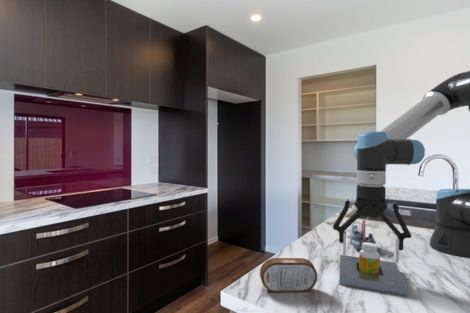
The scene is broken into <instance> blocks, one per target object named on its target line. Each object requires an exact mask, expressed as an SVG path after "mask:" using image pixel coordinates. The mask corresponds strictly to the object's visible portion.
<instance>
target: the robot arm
mask: <svg viewBox="0 0 470 313" xmlns="http://www.w3.org/2000/svg"><path fill="white" fill-rule="evenodd" d="M461 107H468V112H470V70H468V71H467V70H466V71H464V72H461V73H457V74H455V75H453V76H452V75H451V76H450V77H449V78H447V79H445V80H444V81H441V83H438V85H436V86H435V87H433V88H432V89H430V90H429V91H428V92H426V93H425V94H424V95H423V96H422V99H421V101H419V102H418V103H416V104H415V105H414V106H412V107H411V108H410V109H408V110H407V111H405V112H404V113H403V114H402V115H400V116H399V117H398V118H395V120H393V121H392V122H391V123H389V124H388V125H387V126H385V127H384V128H383V129H381V130H380V131H362V132H360V133H359V134H358V137H357V143H356V144H355V145H354V147H353V152H352V153H353V155H354V157H355V158H356V167H357V168H356V183H357V185H356V199H355V200H350V199H349V198H346V199H345V201H344V206H343V208H342V210H341V211H340V213H339V214H338V217H337V218H336V220H335V221H334V223H333V224H332V225H333V226H332V228H333V230H334V231H336V232H338V242H339V244H342V245H343V246H342V255H346V256H347V229H348V228H349V227H350V226H352V225H353V223H354V222H356V221H357V219H359V218H361V216H362V217H364V218H373V219H377V218H381V219H382V220H383V222H384V223H385V224H386V225H387V226H388V227H389V228H390V230H391V231H392V233H394V234H395V235H396V236H394V237H393V261H394V262H395V263H396V264H399V258H400V256H399V255H400V254H399V253H400V251H403V250H404V240H406V239H411V238H412V234H411V232H410V230H409V228H408V226H407V224H406V223H405V221H404V218H403V217H402V215H401V213H400V211H399V210H400V209H399V204H398V203H396V202H395V201H394V202H392V203H390V202H389V203H387V202H386V192H387V188H386V187H385V185H386V180H387V178H386V176H387V175H386V174H387V165H406V166H407V165H408V166H410V165H416V164H419V163H421V162H422V161H423V159H424V158H425V155H426V154H425V152H426V149H425V146H424V144H423V143H422V142H421V141H420V140H417V139H410V137H412V136H413V135H414V134H416V132H418V131H419V130H421V129H422V128H424V127H425V126H426V125H427V124H429V123H430V122H431V121H432V120H434V119H435V118H437V117H438V116H443V115H446V114H447V113H448V112H449V111H451V110H455V109H457V108H461ZM436 192H437V193H436V198H435V207H436V208H435V228H434V230H433V231H432V234H431V236H430V238H429V246H430V248H432V249H434V250H435V251H438V252H441V253H443V254H448V255H453V256H458V257H465V258H470V188H442V189H439V190H438V191H436ZM353 206H355V208H356V209H357V210H356V211H354V213H353V214H352V215H351V216H350V217H349V218H348V219H347V220H346V221H345V222H343V224H341V223H342V221H343V219H344V218H345V216H346V215H347V213H348V211H349V209H351V208H352V207H353ZM387 209H389V210H390V211H391V212H392V213H393V215H394V216H395V218H396V220H397V222H398V224H399V226H400V228H401V230H402V231H403V232H401V231H400V230H399V229H398V228H397V227H396V226H395V224H394V223H393V222H392V221H391V220H390V219H389V217H388V216H387V215H386V214H385V213H384V212H385V211H386V210H387ZM340 225H341V226H340Z"/></svg>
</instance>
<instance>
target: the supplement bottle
mask: <svg viewBox="0 0 470 313" xmlns="http://www.w3.org/2000/svg"><path fill="white" fill-rule="evenodd" d="M362 249H363V250H361V251H358V252H359V254H358V255H359V256H358V257H359V271H358V272H364V273H370V274H376V275H380V274H379V272H380V260H381V256H380V253H379V252H378V244H374V243H369V242H364V243H362Z"/></svg>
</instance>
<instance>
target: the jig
mask: <svg viewBox="0 0 470 313" xmlns="http://www.w3.org/2000/svg"><path fill="white" fill-rule="evenodd" d="M339 285H340V286H346V287H351V288H356V289H364V290H369V291H373V292H379V293H385V294H390V295H396V296H402V297H408V286H407V284H406V282H405V280H404V277H403V276H402V273H401V271H400V269H399V267H398V265H397V263H396V262H395V261H394V262H393V261H387V260H381V259H380V272H379V275H376V274H370V273H364V272H359V256H351V255H347V254H346V255H343V254H340V255H339Z"/></svg>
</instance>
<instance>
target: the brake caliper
mask: <svg viewBox="0 0 470 313" xmlns="http://www.w3.org/2000/svg"><path fill="white" fill-rule="evenodd" d="M346 238H348V239H349V242H347V244H349V245H351V246H352V247H353V248H354V249H355V250H356V251H357V252H360V251H361V250H363V249H362V243H364V242H369V243H374V244H376V240H375V238H374V236H373V234H372V233H368V236H366V221H365V219H363V220H362V223H361V227H360V228H358V225H357V224H351V229H350V230H349V234H347V235H346ZM376 245H377V244H376Z"/></svg>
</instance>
